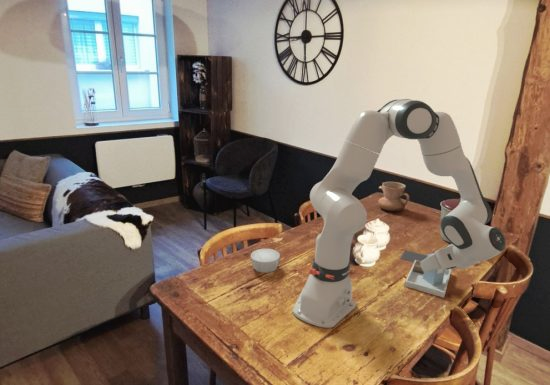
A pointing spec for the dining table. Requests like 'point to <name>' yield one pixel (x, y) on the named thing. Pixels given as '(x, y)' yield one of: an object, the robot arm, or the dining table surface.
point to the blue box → (434, 275)
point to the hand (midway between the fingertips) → (433, 266)
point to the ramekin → (265, 260)
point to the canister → (447, 211)
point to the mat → (412, 256)
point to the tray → (420, 284)
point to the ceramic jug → (392, 196)
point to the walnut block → (418, 267)
